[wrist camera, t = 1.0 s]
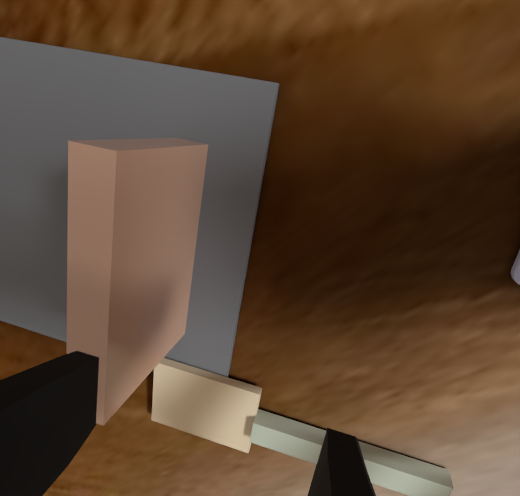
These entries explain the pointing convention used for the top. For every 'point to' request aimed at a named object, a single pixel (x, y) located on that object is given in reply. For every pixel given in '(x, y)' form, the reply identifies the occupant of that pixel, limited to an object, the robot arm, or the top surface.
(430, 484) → the turner
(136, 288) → the block
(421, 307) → the top surface
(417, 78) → the top surface
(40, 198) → the mat
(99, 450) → the top surface
